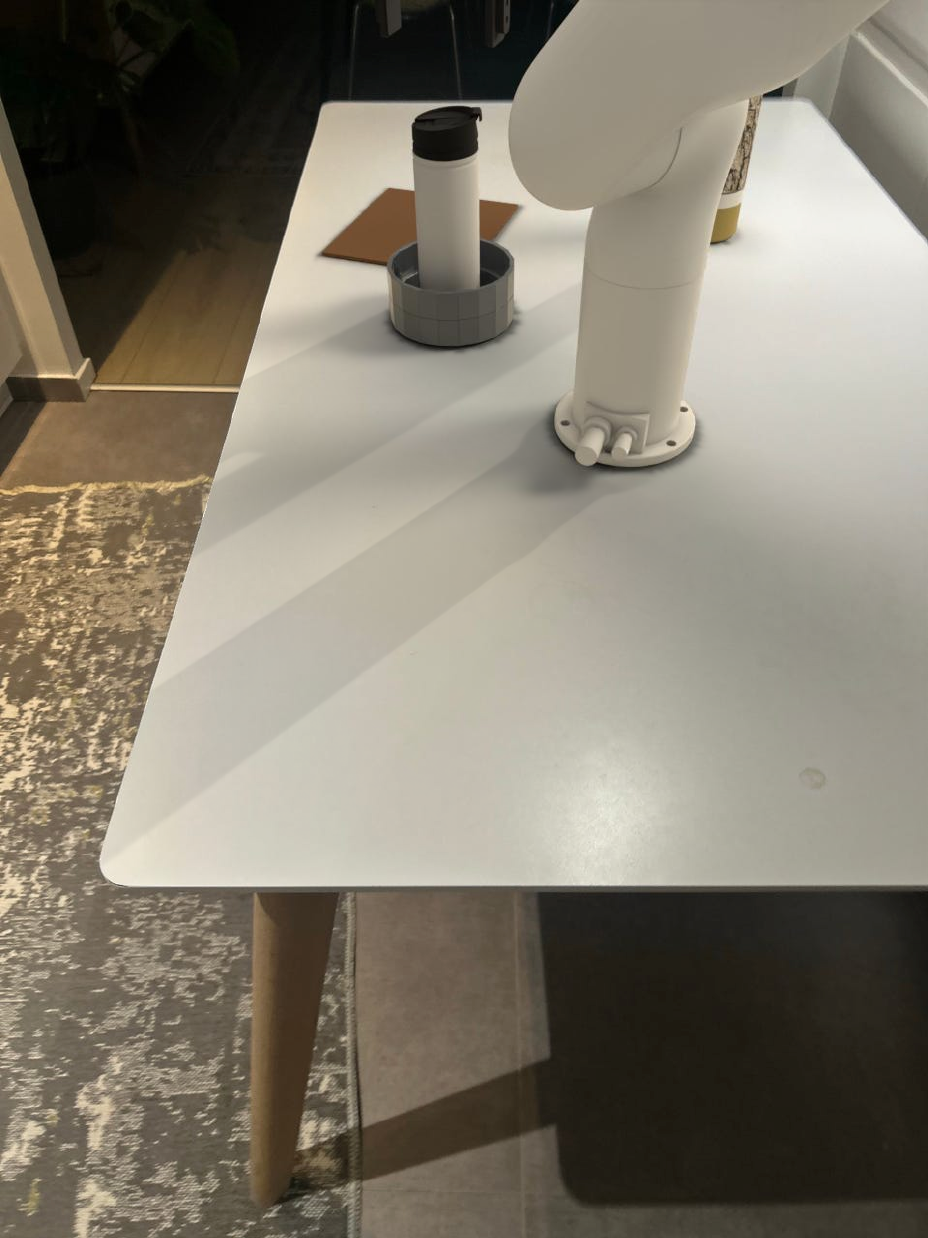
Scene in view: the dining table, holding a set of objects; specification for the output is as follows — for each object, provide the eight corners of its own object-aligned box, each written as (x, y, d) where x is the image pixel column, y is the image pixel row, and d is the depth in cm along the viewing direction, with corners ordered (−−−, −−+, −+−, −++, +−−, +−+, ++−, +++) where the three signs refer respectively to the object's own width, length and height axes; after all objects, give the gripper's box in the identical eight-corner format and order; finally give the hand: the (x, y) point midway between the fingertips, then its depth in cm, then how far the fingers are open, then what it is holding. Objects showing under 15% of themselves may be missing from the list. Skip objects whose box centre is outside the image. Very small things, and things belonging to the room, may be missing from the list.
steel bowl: (489, 357, 93) (489, 301, 88) (372, 336, 96) (366, 281, 92) (528, 298, 101) (530, 244, 97) (419, 281, 104) (416, 228, 100)
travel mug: (483, 329, 96) (482, 121, 82) (419, 329, 96) (407, 122, 82) (483, 299, 100) (482, 98, 86) (423, 300, 100) (411, 99, 86)
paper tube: (719, 249, 108) (766, -1, 90) (668, 235, 111) (703, -10, 93) (745, 229, 112) (794, -16, 94) (694, 215, 115) (733, -24, 97)
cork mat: (464, 277, 105) (464, 273, 104) (321, 255, 109) (321, 251, 109) (518, 207, 118) (518, 204, 117) (389, 190, 122) (388, 187, 122)
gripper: (305, -228, 67) (333, 41, 79) (532, -224, 63) (524, 59, 75) (349, -237, 72) (369, 17, 84) (563, -234, 68) (550, 34, 80)
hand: (442, 37), depth 80 cm, fingers open, 9 cm apart
